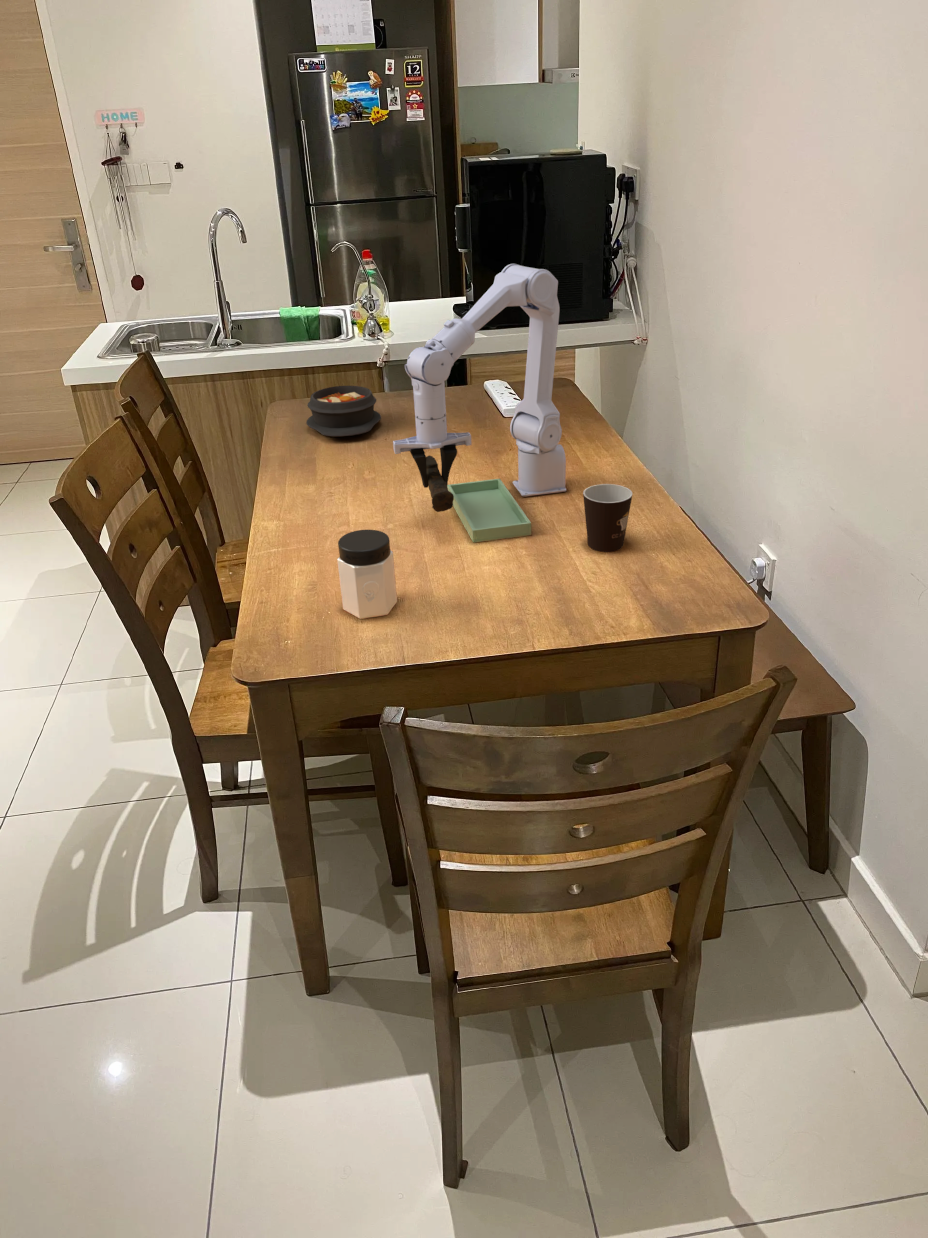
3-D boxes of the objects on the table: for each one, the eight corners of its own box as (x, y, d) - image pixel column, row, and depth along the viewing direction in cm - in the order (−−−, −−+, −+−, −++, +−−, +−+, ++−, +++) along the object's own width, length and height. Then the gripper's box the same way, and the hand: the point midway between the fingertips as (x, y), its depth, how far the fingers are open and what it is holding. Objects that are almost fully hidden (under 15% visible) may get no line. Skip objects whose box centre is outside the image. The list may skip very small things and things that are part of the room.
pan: (500, 489, 194) (500, 478, 193) (531, 535, 174) (531, 522, 173) (447, 495, 192) (447, 484, 191) (473, 542, 172) (472, 530, 171)
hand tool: (454, 511, 170) (453, 487, 168) (433, 513, 170) (431, 489, 167) (442, 473, 186) (441, 451, 184) (423, 475, 186) (421, 453, 183)
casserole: (386, 439, 223) (384, 405, 219) (308, 447, 221) (304, 412, 217) (376, 408, 245) (374, 376, 240) (305, 415, 242) (301, 383, 238)
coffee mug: (599, 558, 165) (601, 506, 160) (572, 541, 171) (573, 490, 166) (652, 543, 169) (656, 492, 164) (624, 526, 176) (627, 477, 171)
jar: (346, 622, 149) (338, 554, 143) (340, 598, 156) (332, 533, 150) (401, 614, 150) (395, 547, 144) (393, 590, 157) (387, 525, 151)
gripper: (394, 426, 166) (400, 496, 173) (474, 417, 168) (476, 487, 175) (389, 414, 172) (394, 483, 179) (465, 405, 174) (468, 474, 181)
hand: (434, 484), depth 178 cm, fingers closed on hand tool, 3 cm apart
